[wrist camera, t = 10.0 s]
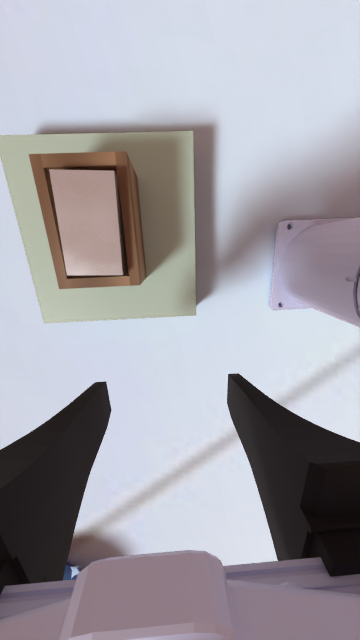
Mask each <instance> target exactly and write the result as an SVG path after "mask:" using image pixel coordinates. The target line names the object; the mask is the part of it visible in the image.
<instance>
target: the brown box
mask: <svg viewBox="0 0 360 640" xmlns="http://www.w3.org/2000/svg"><path fill="white" fill-rule="evenodd" d="M29 158H30V163H31V167H32V172H33V176H34V181H35V185H36V189H37V194H38V198H39V203H40V207H41V211H42V216H43V220H44V225H45V229H46V233H47V238H48V242H49V247H50V251H51V256H52V260H53V264H54V269H55V273H56V278H57V282H58V286H59V289H74V288H95V287H115V286H136V285H141V283H142V282H143V281H144V280H145V279H146V278H147V276H146V265H145V254H144V243H143V232H142V221H141V210H140V199H139V188H138V177H137V175H136V173H135V170H134V168H133V166H132V164H131V161H130V159H129V157H128V154H127V152H126V151H118V152H82V153H46V154H29ZM49 169H54V170H105V171H115V173H116V174H117V176H118V185H119V194H120V202H121V211H122V219H123V228H124V236H125V245H126V256H127V269H128V273H126V274H124V275H67V273H66V267H65V261H64V255H63V249H62V243H61V237H60V232H59V226H58V220H57V214H56V208H55V202H54V196H53V190H52V184H51V178H50V172H49Z"/></svg>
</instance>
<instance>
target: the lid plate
mask: <svg viewBox="0 0 360 640" xmlns="http://www.w3.org/2000/svg"><path fill="white" fill-rule="evenodd" d="M49 172H50V178H51V184H52V190H53V196H54V202H55V208H56V214H57V220H58V226H59V232H60V237H61V243H62V249H63V255H64V261H65V267H66V273H67V275H124V274H126V273H128V269H127V256H126V245H125V236H124V228H123V219H122V211H121V202H120V194H119V185H118V176H117V174H116V173H115V171H105V170H54V169H49Z"/></svg>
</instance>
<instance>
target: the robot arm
mask: <svg viewBox="0 0 360 640" xmlns="http://www.w3.org/2000/svg"><path fill="white" fill-rule="evenodd" d="M288 224H290V226H291V227H290V229H289V230H288V229H287V225H288ZM279 303H281V306H279V307H278V304H279ZM269 307H270V308H271V309H273V310H287V309H307V308H313V309H315V310H318V311H320V312H323V313H325V314H328V315H330V316H333V317H335V318H338V319H340V320H343V321H345V322H348V323H350V324H353V325H355V326H358V327H360V217H359V218H335V219H309V220H285V221H281V222H279V223H278V225H277V230H276V240H275V251H274V261H273V271H272V281H271V291H270V301H269ZM227 404H228V408H229V411H230V415H231V418H232V421H233V423H234V426H235V428H236V431H237V433H238V435H239V438H240V440H241V443H242V445H243V447H244V450H245V452H246V455H247V457H248V460H249V462H250V465H251V468H252V471H253V475H254V478H255V481H256V484H257V488H258V491H259V494H260V498H261V501H262V504H263V508H264V511H265V515H266V518H267V522H268V525H269V529H270V533H271V536H272V540H273V544H274V548H275V551H276V555H277V559H278V561H273V562H262V563H251V564H240V565H229V566H223V565H222V563H221V561H220V560H219V559H218V558H217V557H215V556H213V555H211V554H210V553H208V552H206V551H193V550H185V551H174V552H163V553H152V554H140V555H129V556H118V557H108V558H104V559H100V560H96V561H93V562H91V563H90V564H89V565H88V566H86V567H85V568H84V569H83V570H82V571H81V572H79V573H78V576H77V579H76V580H65V581H63V577H64V572H65V568H66V563H67V559H68V554H69V550H70V546H71V542H72V538H73V533H74V529H75V525H76V521H77V517H78V514H79V510H80V506H81V502H82V498H83V495H84V491H85V488H86V484H87V481H88V477H89V474H90V471H91V468H92V466H93V463H94V461H95V458H96V455H97V453H98V450H99V448H100V445H101V442H102V440H103V437H104V434H105V432H106V429H107V426H108V422H109V418H110V413H111V406H110V401H109V395H108V390H107V384H106V382H95V383H94V384H93V385H92V386H90V387H89V388H88V389H87V390H86V391H84V392H83V393H82V394H81V395H80V396H79V397H77V398H76V399H75V400H74V401H73V402H71V403H70V404H69V405H68V406H66V407H65V408H64V409H63V410H61V411H60V412H59V413H57V414H56V415H55V416H54V417H52V418H51V419H49V420H48V421H47V422H45V423H44V424H42V425H41V426H39V427H38V428H36V429H35V430H33V431H32V432H30V433H29V434H27V435H25V436H24V437H22V438H20V439H18V440H17V441H15V442H13V443H12V444H10V445H8V446H7V447H5V448H3V449H1V450H0V640H360V442H357V441H354V440H351V439H348V438H346V437H343V436H341V435H338V434H336V433H333V432H331V431H329V430H326V429H324V428H322V427H320V426H318V425H315V424H313V423H311V422H309V421H307V420H305V419H303V418H302V417H300V416H298V415H296V414H294V413H293V412H291V411H289V410H287V409H286V408H284V407H283V406H281V405H279V404H278V403H276V402H275V401H273V400H272V399H271V398H269V397H268V396H266V395H265V394H264V393H262V392H261V391H260V390H258V389H257V388H256V387H255V386H253V385H252V384H251V383H250V382H248V381H247V380H246V379H245V378H243V377H242V376H241V375H240V374H228V394H227Z"/></svg>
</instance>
